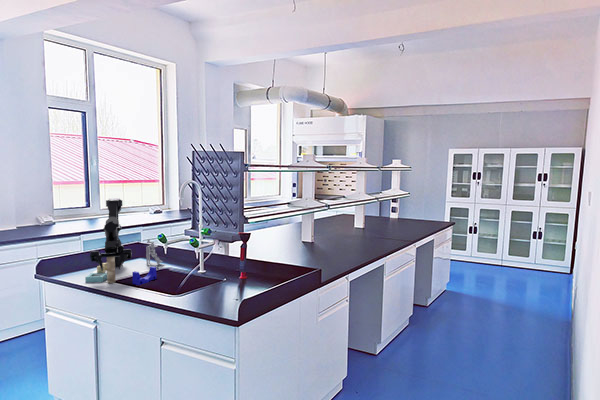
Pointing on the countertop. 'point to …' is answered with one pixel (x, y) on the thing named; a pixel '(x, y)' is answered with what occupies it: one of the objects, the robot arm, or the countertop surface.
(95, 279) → the pin board
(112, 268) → the birch pin
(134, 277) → the blue saddle block
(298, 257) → the countertop surface
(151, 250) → the clamp
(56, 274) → the countertop surface
